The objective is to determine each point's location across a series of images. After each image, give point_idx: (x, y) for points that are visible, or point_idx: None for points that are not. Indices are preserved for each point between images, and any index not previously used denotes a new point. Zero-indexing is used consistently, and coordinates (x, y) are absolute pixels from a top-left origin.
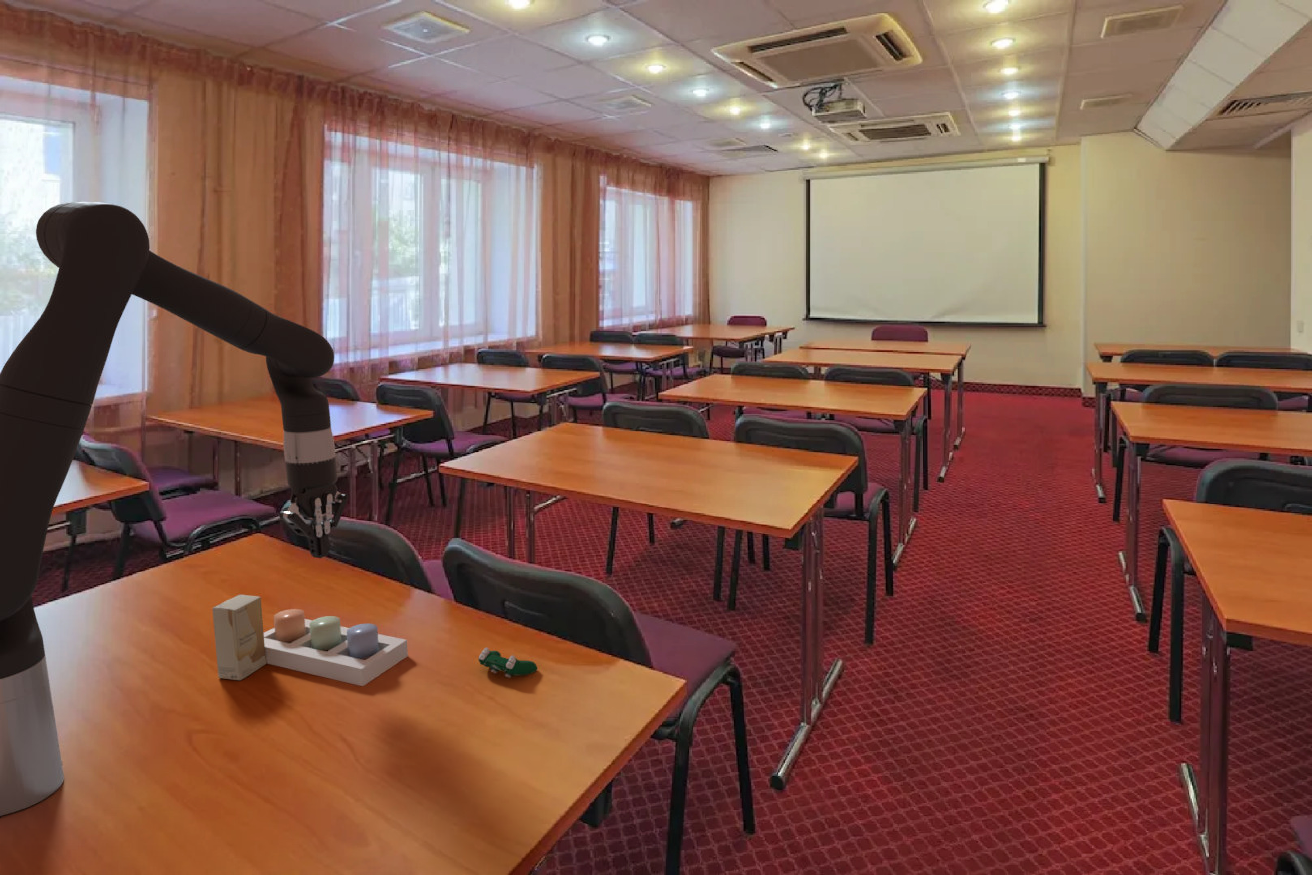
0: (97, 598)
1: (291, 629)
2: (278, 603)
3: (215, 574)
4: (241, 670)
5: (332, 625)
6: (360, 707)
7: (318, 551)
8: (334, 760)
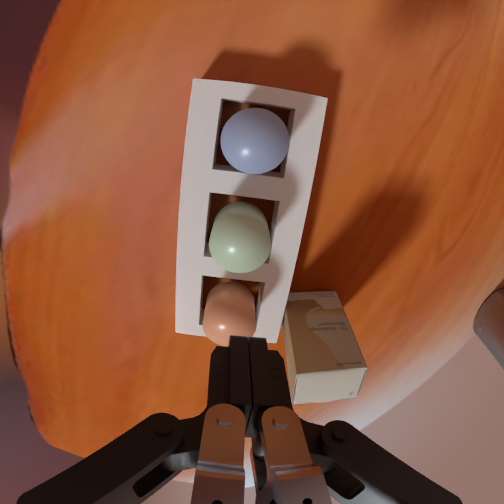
0: None
1: (247, 300)
2: (124, 379)
3: None
4: (335, 298)
5: (251, 219)
6: (374, 74)
7: (273, 362)
8: (467, 64)
